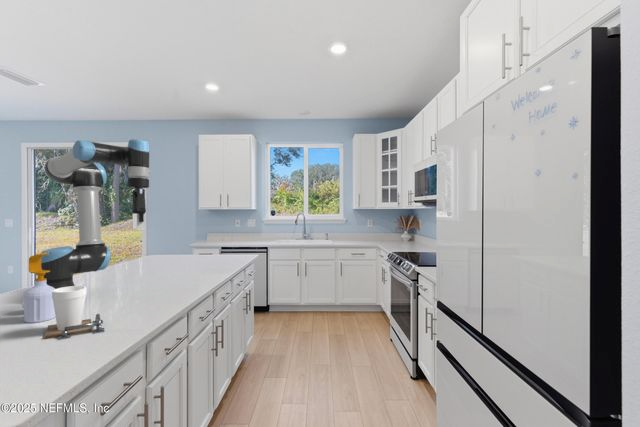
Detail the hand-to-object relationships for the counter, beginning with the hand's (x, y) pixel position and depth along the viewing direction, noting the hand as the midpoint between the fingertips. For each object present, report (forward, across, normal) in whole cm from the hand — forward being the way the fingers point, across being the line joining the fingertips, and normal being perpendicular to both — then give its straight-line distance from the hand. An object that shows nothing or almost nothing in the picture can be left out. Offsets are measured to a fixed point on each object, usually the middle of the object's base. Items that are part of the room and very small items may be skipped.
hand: (138, 229), depth 133 cm
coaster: (+33, -13, +22) cm, 42 cm away
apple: (+33, +18, +34) cm, 51 cm away
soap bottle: (+33, +6, +31) cm, 46 cm away
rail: (+33, -16, +18) cm, 41 cm away
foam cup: (+32, -13, +22) cm, 41 cm away
